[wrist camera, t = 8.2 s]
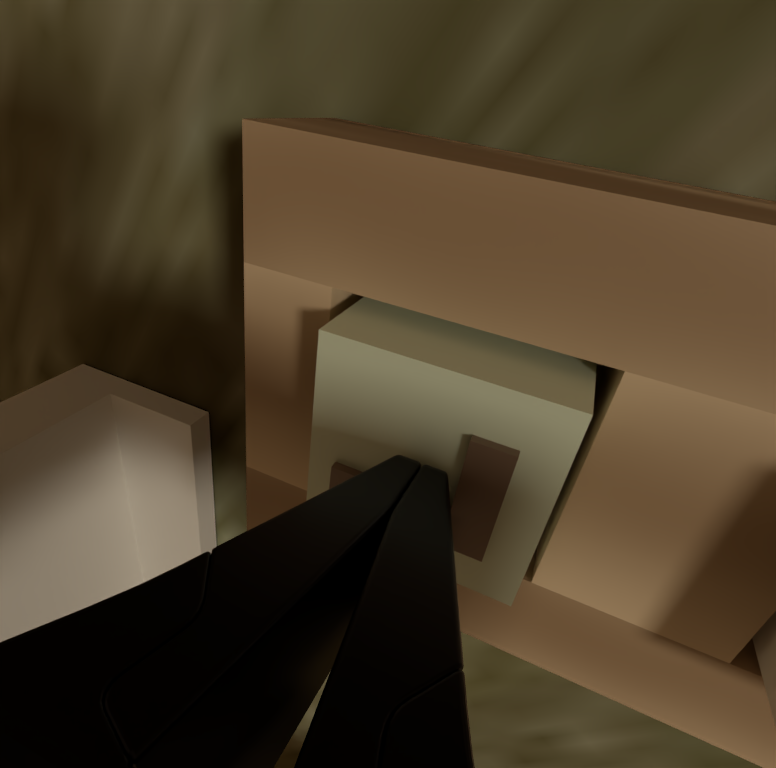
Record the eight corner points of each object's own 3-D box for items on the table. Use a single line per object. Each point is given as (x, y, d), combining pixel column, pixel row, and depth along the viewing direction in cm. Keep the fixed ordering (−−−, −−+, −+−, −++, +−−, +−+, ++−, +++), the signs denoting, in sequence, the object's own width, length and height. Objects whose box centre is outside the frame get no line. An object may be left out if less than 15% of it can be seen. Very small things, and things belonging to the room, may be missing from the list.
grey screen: (223, 667, 22) (113, 822, 17) (135, 620, 24) (9, 752, 19) (208, 412, 15) (14, 553, 10) (82, 363, 16) (-144, 469, 12)
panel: (979, 728, 10) (1090, 915, 8) (309, 464, 15) (246, 535, 12) (1554, 348, 6) (2235, 518, 3) (334, 117, 10) (242, 118, 7)
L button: (534, 496, 11) (509, 614, 8) (368, 436, 12) (300, 524, 9) (599, 332, 9) (592, 421, 6) (392, 276, 10) (313, 333, 7)
